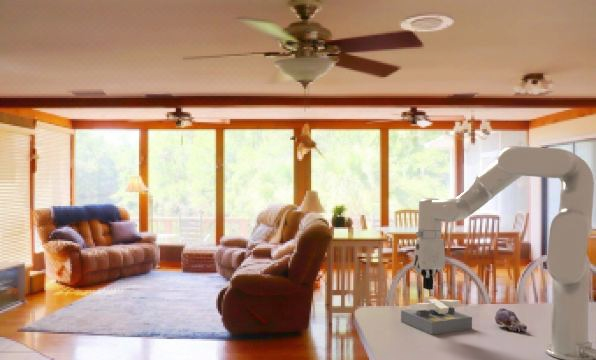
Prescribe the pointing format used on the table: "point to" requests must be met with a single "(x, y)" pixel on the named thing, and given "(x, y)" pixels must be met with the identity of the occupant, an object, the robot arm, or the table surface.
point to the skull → (509, 320)
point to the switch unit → (436, 320)
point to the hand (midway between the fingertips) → (427, 288)
